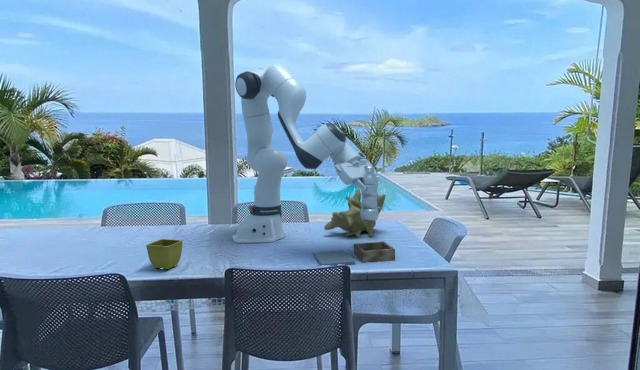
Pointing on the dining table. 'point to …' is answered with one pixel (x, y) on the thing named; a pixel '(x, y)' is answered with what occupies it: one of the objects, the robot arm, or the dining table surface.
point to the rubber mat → (333, 258)
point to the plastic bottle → (369, 195)
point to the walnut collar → (374, 252)
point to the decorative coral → (354, 216)
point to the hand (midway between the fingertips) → (370, 189)
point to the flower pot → (164, 253)
